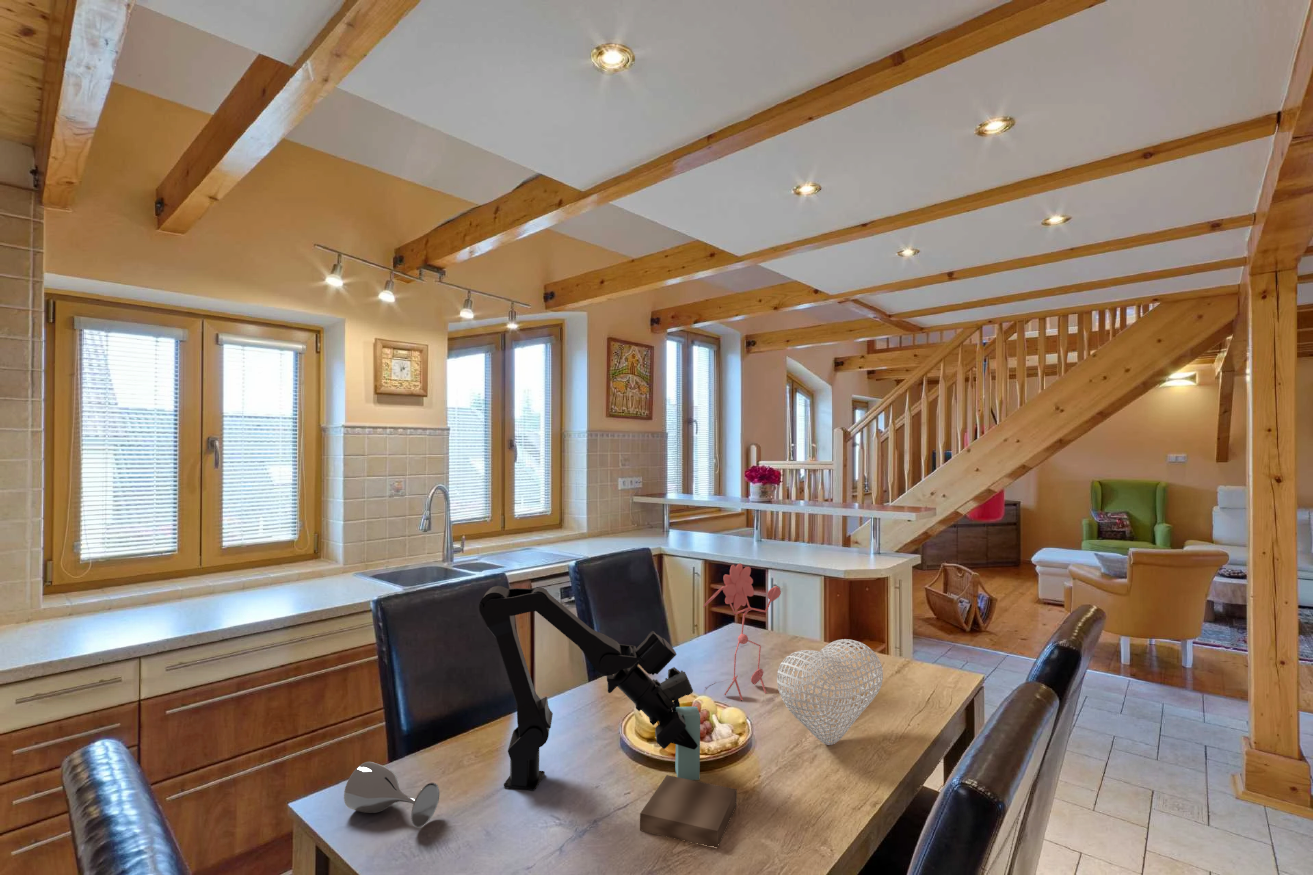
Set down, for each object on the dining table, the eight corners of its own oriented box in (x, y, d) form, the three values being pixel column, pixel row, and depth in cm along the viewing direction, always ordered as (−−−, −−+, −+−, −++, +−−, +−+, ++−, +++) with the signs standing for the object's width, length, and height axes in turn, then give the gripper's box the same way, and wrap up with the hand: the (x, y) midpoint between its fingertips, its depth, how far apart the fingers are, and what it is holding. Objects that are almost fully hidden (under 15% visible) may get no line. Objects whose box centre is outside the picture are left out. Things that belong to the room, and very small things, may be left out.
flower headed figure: (789, 687, 180) (787, 562, 181) (722, 710, 164) (720, 572, 165) (749, 672, 192) (748, 555, 193) (683, 692, 176) (682, 565, 177)
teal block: (678, 780, 129) (678, 716, 129) (675, 769, 134) (676, 707, 134) (699, 779, 130) (700, 715, 130) (696, 768, 134) (696, 706, 134)
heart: (840, 717, 160) (840, 628, 161) (895, 740, 148) (896, 644, 148) (762, 748, 144) (763, 648, 144) (817, 777, 131) (818, 668, 131)
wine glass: (439, 770, 116) (376, 752, 122) (408, 799, 109) (341, 778, 115) (442, 810, 118) (379, 790, 123) (411, 841, 110) (345, 819, 116)
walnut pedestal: (639, 830, 112) (640, 813, 112) (666, 790, 126) (666, 775, 126) (717, 848, 108) (717, 831, 108) (736, 805, 121) (736, 789, 121)
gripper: (675, 677, 122) (731, 734, 123) (664, 647, 141) (713, 696, 142) (633, 720, 121) (690, 776, 122) (628, 683, 140) (677, 732, 141)
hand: (694, 742), depth 132 cm, fingers closed on teal block, 4 cm apart
